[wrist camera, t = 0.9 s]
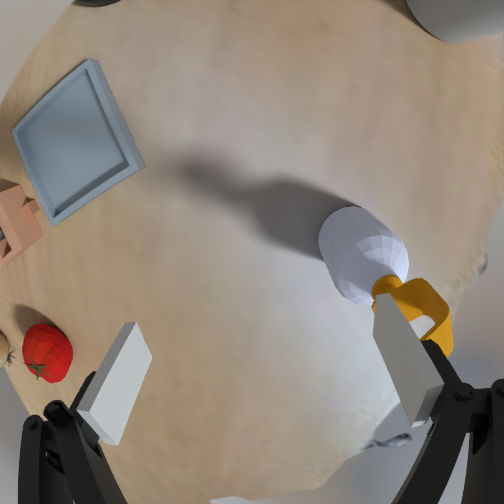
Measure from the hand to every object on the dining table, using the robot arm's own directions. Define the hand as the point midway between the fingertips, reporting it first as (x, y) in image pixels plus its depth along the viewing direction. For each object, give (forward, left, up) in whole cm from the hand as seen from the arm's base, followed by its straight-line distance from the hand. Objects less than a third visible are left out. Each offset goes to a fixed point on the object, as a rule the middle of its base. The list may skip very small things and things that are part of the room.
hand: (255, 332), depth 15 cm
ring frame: (-17, -39, -25) cm, 49 cm away
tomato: (+7, -48, -25) cm, 55 cm away
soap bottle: (+8, +10, -25) cm, 28 cm away
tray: (-21, -20, -25) cm, 38 cm away
